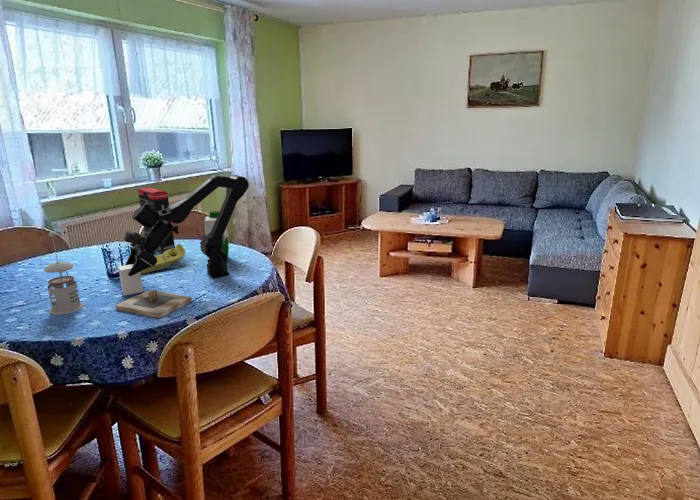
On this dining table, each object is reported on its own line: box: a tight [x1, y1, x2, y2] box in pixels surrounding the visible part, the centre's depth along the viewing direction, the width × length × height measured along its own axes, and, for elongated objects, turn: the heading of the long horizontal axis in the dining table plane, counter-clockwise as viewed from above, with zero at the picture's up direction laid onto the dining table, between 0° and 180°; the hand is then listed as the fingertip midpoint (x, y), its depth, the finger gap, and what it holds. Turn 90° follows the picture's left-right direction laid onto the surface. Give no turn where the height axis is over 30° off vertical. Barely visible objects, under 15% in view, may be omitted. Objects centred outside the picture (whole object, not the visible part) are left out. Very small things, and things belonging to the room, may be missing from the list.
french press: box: [43, 231, 85, 316], centre depth 146 cm, size 10×12×25 cm
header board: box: [114, 289, 193, 319], centre depth 149 cm, size 14×18×5 cm
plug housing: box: [117, 264, 144, 296], centre depth 161 cm, size 6×5×9 cm
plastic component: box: [140, 243, 186, 274], centre depth 189 cm, size 20×7×10 cm
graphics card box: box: [137, 187, 176, 254], centre depth 210 cm, size 17×7×27 cm, turn 46°
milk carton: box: [204, 210, 230, 262], centre depth 193 cm, size 9×9×20 cm
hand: (127, 271), depth 159 cm, fingers open, 9 cm apart
